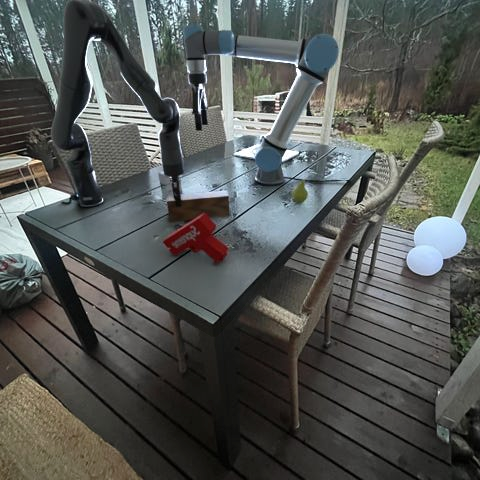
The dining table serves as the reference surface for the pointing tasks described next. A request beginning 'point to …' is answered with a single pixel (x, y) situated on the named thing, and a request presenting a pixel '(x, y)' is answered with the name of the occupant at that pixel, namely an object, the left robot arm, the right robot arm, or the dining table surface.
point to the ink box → (166, 184)
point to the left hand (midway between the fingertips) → (178, 201)
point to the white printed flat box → (252, 150)
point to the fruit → (300, 192)
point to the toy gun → (197, 239)
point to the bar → (199, 205)
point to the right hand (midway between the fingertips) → (202, 127)
